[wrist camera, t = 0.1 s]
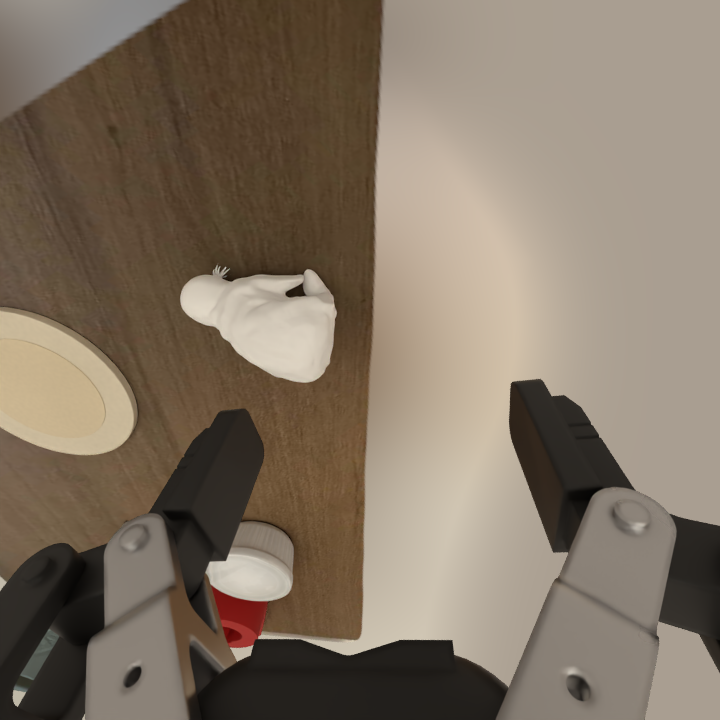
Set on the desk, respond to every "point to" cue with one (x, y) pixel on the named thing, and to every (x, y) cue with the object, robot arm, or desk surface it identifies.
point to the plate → (60, 387)
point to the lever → (240, 618)
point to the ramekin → (255, 564)
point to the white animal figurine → (268, 320)
